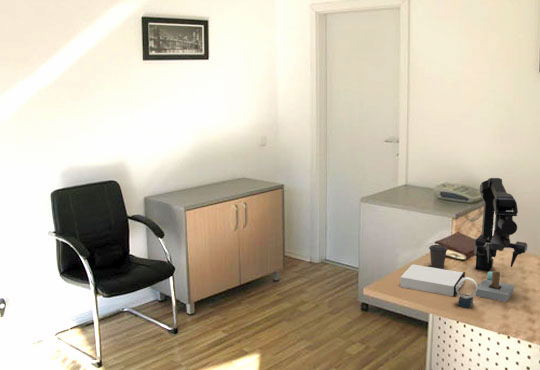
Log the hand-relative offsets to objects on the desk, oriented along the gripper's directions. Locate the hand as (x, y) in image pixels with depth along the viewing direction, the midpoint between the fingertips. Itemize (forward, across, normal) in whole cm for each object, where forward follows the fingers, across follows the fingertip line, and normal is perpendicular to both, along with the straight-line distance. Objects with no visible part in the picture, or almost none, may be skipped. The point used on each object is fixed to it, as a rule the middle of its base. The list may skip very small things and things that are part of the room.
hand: (499, 264), depth 244 cm
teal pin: (+12, -4, +8) cm, 15 cm away
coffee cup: (+12, -30, +15) cm, 36 cm away
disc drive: (+13, -25, -6) cm, 28 cm away
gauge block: (+12, 0, -2) cm, 12 cm away
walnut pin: (+12, 0, -2) cm, 12 cm away
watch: (+12, -7, -19) cm, 24 cm away
